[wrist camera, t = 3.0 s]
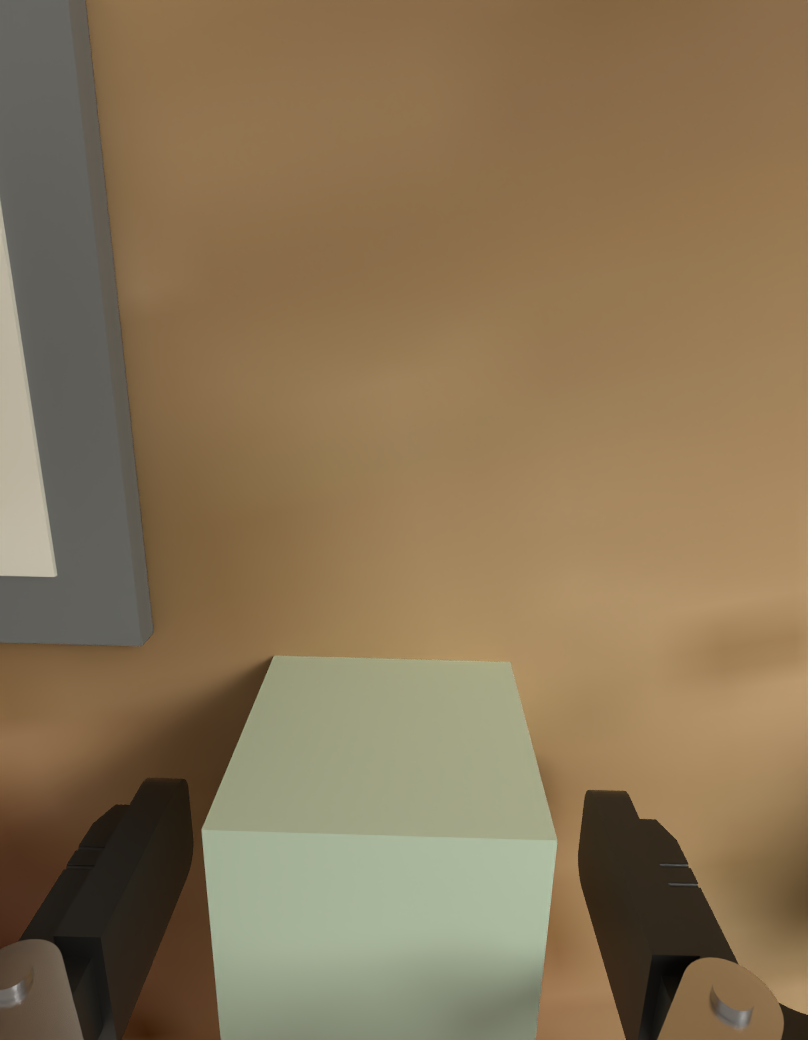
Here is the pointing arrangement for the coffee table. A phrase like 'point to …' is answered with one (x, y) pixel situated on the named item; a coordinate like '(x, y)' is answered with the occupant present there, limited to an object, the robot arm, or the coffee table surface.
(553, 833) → the sage cube
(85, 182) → the mat
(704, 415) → the coffee table surface
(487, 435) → the coffee table surface
